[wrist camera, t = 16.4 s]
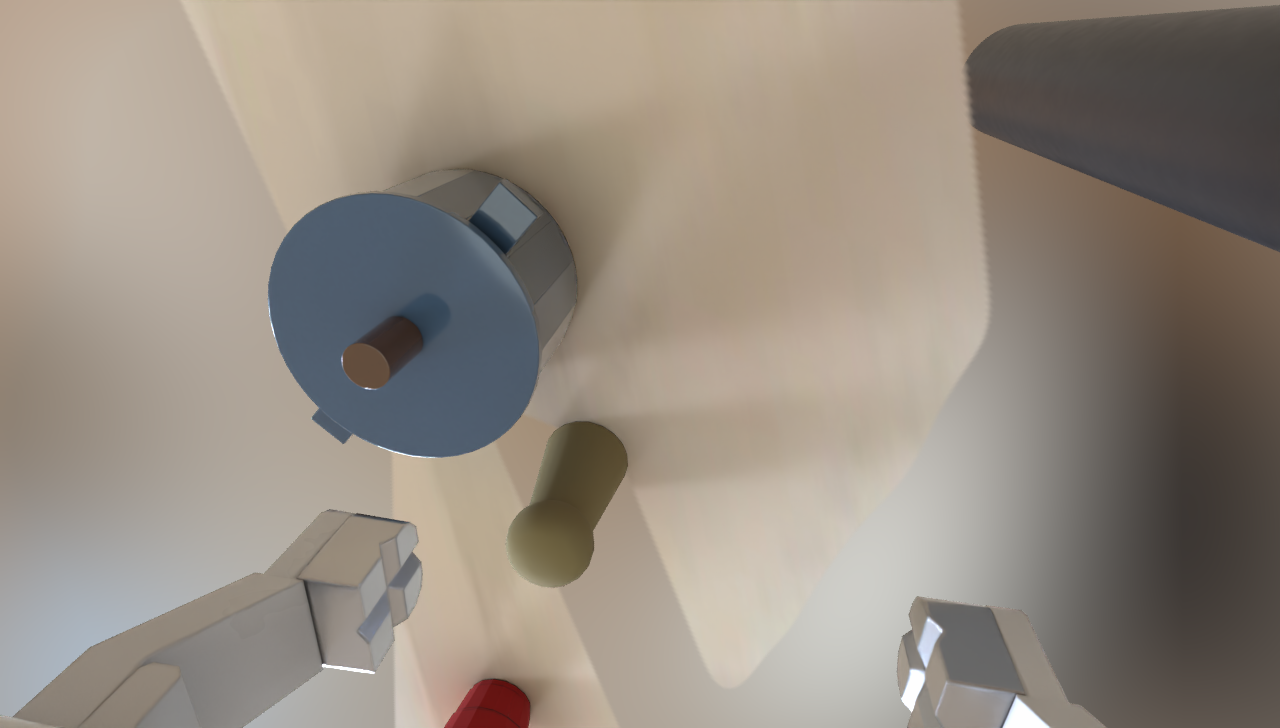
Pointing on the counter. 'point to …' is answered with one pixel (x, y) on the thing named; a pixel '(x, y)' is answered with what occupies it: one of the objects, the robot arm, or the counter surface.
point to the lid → (405, 324)
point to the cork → (566, 504)
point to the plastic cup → (492, 707)
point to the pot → (504, 248)
